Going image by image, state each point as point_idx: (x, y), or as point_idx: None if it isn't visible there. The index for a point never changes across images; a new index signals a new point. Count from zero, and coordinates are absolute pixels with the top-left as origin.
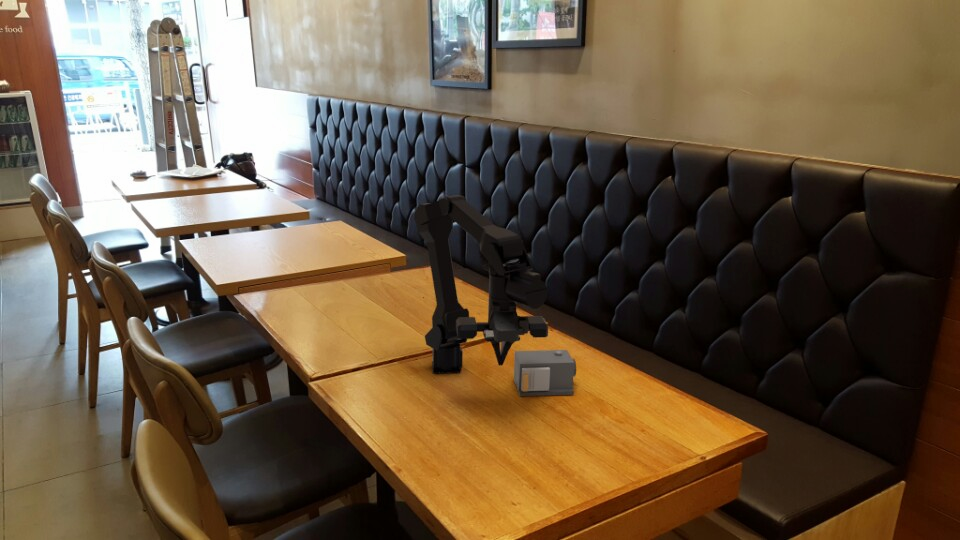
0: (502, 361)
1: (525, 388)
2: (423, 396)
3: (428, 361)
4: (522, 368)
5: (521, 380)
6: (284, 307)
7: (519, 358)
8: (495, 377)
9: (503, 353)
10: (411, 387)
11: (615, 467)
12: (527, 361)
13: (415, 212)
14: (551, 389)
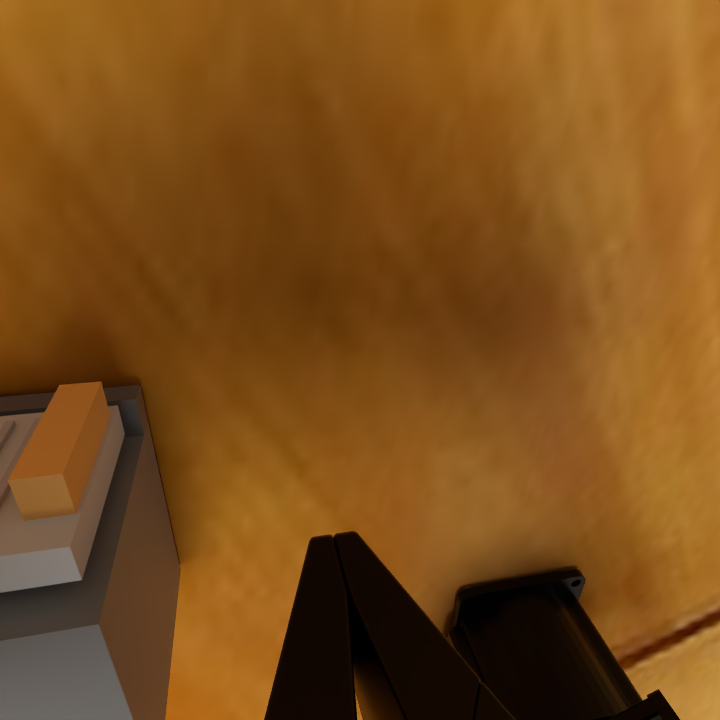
0: (322, 576)
1: (74, 397)
2: (698, 369)
3: None
4: (74, 574)
5: (108, 480)
6: None
7: (108, 706)
8: (286, 578)
9: (337, 696)
10: (711, 450)
11: None
12: (12, 677)
13: None
14: None
